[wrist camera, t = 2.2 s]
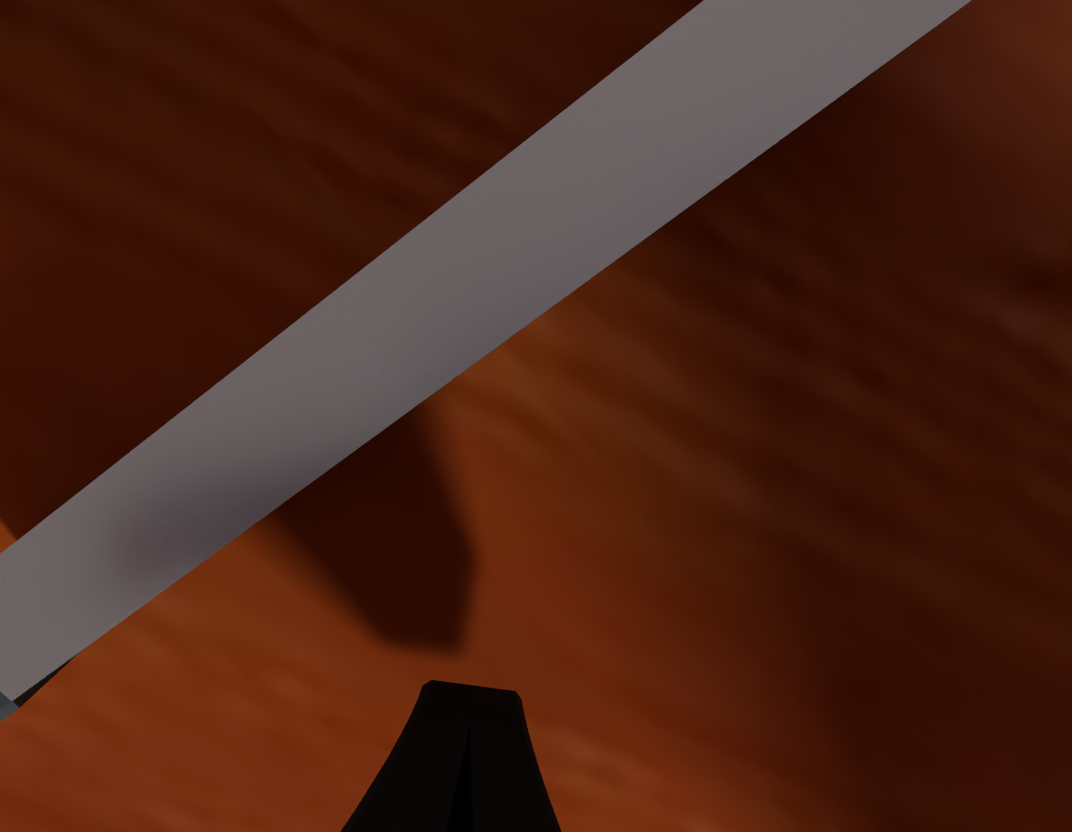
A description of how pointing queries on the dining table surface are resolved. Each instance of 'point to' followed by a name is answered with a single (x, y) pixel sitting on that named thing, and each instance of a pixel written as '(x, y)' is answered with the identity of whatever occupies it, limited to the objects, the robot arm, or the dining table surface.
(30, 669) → the tong arm
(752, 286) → the dining table surface
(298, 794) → the dining table surface
